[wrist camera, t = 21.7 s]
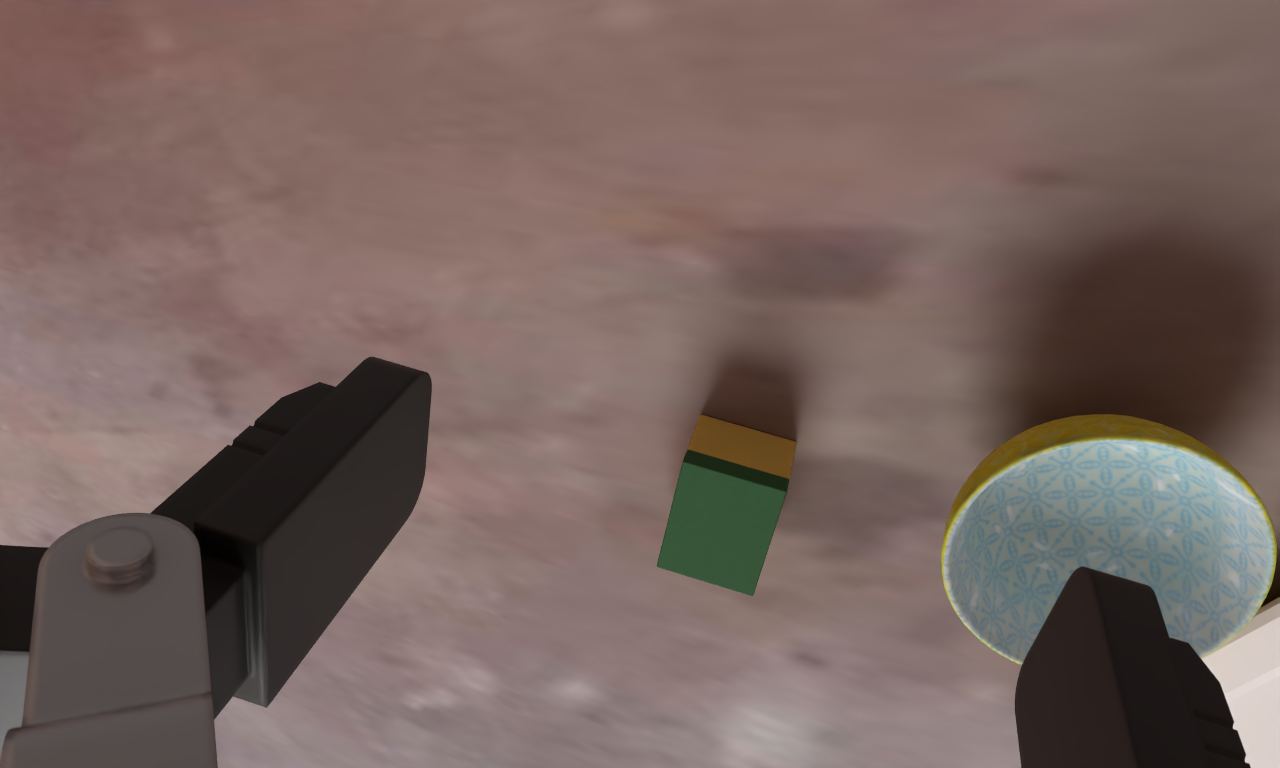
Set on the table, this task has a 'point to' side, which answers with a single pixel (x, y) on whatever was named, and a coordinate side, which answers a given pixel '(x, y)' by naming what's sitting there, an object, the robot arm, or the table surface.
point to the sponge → (726, 504)
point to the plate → (1253, 684)
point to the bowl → (1107, 530)
